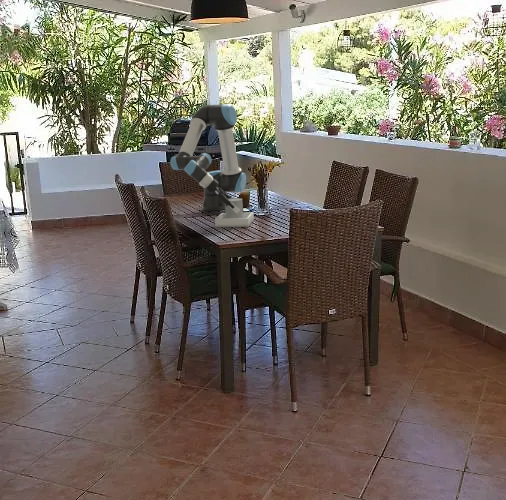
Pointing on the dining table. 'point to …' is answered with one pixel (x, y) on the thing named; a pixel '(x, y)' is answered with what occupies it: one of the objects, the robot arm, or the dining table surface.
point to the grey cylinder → (230, 212)
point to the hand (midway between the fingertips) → (238, 209)
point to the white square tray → (234, 220)
